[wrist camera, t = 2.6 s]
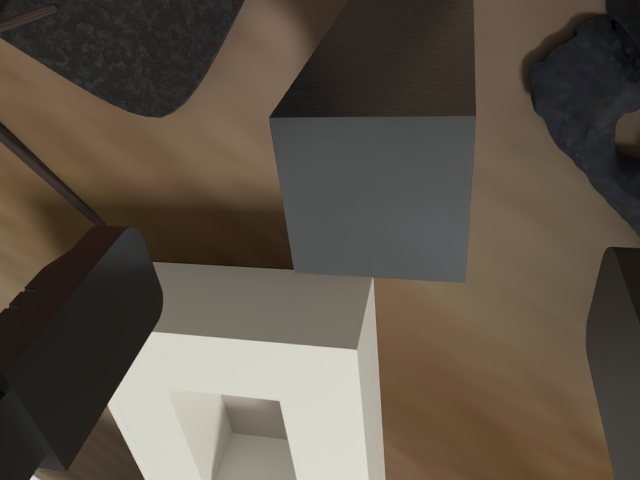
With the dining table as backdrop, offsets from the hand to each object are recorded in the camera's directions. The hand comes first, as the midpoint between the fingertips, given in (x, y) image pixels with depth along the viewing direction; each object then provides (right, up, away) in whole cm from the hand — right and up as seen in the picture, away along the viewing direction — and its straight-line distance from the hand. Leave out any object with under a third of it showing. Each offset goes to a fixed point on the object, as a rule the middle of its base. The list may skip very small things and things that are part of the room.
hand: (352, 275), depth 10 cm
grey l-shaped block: (+3, +6, +12) cm, 14 cm away
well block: (-4, -8, +24) cm, 26 cm away
